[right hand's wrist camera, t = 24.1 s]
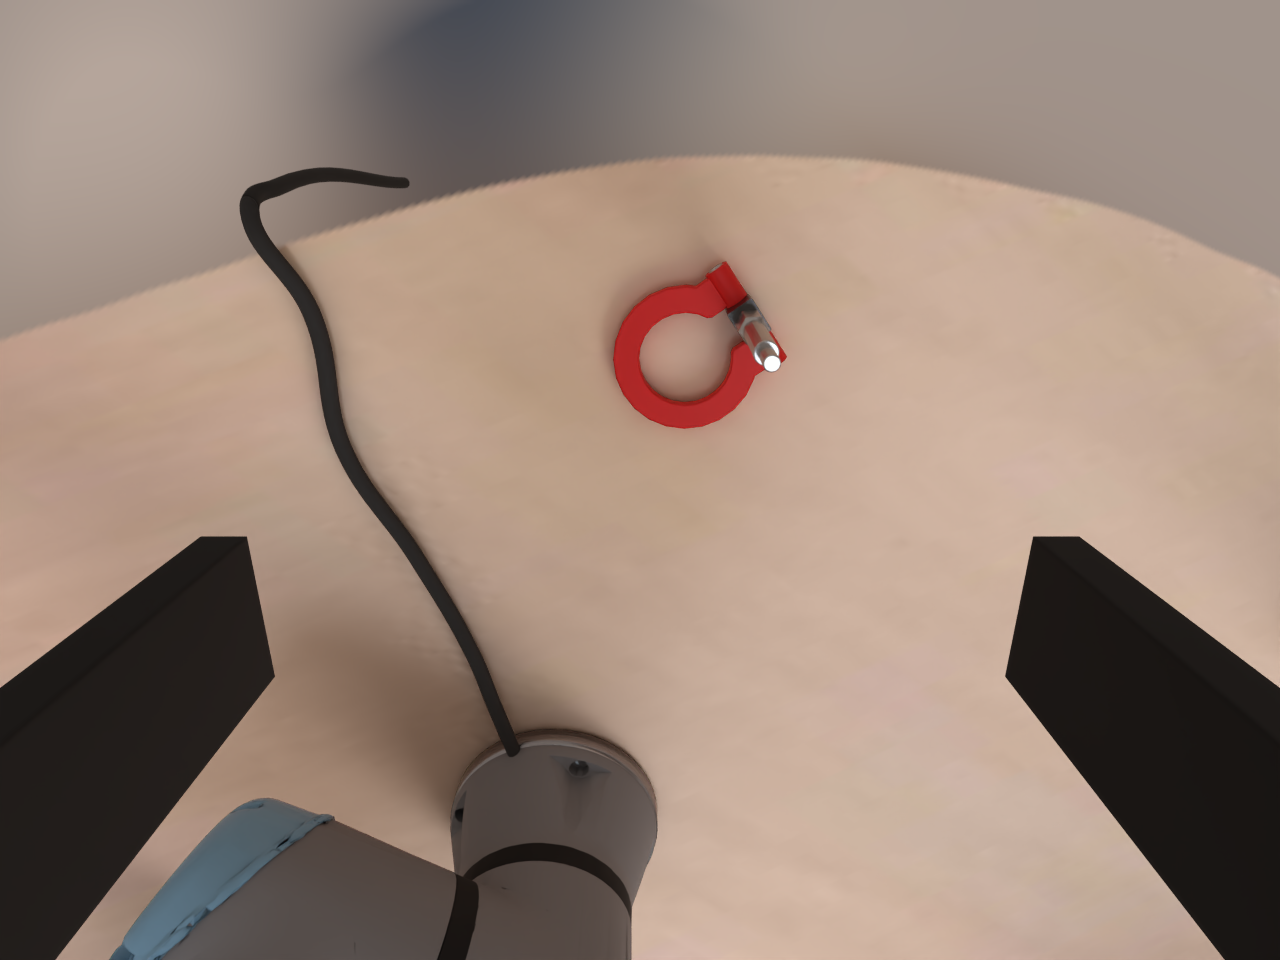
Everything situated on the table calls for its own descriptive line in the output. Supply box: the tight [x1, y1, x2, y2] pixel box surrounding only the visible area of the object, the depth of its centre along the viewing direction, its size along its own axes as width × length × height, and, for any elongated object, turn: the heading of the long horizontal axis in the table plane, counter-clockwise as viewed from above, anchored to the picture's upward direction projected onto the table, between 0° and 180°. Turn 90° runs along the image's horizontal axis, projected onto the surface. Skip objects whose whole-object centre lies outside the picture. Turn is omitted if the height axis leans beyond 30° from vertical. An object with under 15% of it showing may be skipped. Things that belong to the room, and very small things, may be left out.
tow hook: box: [613, 262, 787, 429], centre depth 39 cm, size 8×13×9 cm
